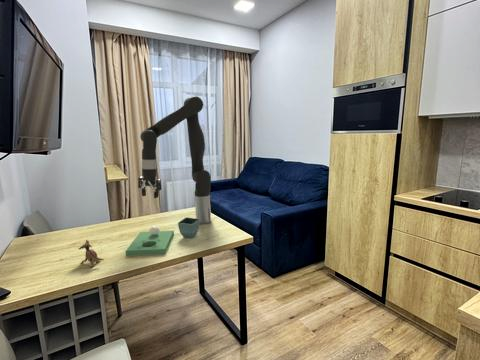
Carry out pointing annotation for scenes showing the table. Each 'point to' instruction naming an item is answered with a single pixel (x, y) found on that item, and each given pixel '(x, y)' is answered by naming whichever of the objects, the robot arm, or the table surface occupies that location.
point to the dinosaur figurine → (90, 254)
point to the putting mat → (150, 243)
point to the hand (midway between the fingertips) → (149, 196)
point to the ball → (154, 230)
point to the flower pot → (189, 227)
